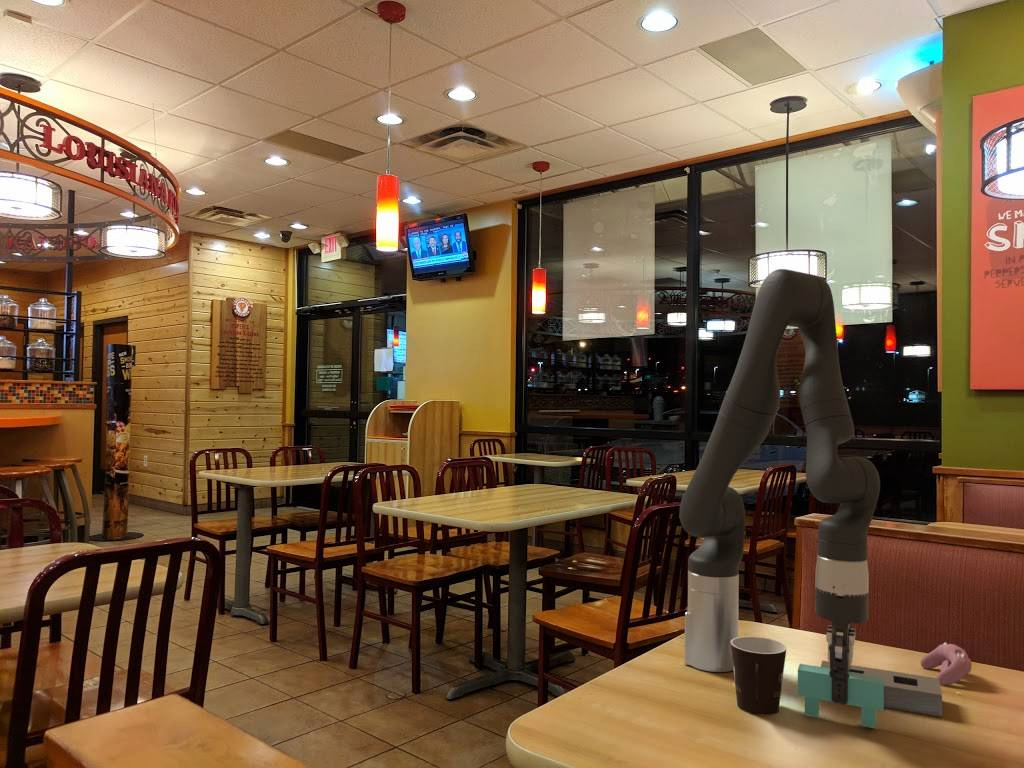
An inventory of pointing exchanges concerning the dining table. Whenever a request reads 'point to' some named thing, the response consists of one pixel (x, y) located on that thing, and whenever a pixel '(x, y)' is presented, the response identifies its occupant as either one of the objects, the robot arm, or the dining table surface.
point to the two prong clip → (860, 692)
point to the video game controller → (948, 663)
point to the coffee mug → (758, 673)
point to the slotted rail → (906, 690)
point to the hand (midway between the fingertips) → (840, 698)
